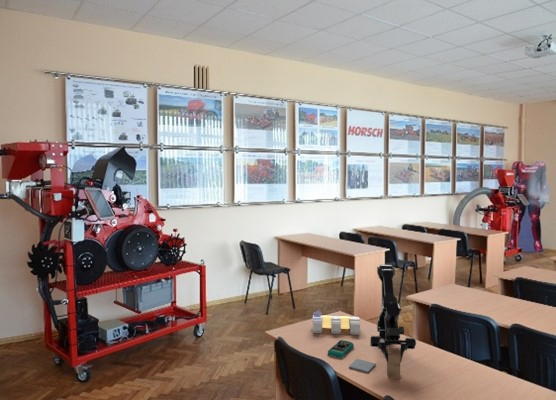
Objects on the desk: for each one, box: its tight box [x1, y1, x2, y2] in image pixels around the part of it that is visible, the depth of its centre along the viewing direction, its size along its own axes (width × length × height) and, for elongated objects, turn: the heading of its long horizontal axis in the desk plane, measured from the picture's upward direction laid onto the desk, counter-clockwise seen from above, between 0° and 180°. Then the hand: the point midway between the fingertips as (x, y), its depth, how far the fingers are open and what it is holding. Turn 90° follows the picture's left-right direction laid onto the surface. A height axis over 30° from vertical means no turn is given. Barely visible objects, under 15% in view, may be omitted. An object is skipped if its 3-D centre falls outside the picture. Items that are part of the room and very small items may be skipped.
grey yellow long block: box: [312, 309, 361, 336], centre depth 229 cm, size 25×10×13 cm, turn 83°
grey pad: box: [348, 358, 376, 374], centre depth 188 cm, size 9×9×1 cm
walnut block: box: [386, 347, 402, 380], centre depth 179 cm, size 5×5×11 cm
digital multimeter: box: [327, 339, 354, 359], centre depth 204 cm, size 8×15×3 cm, turn 149°
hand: (394, 362), depth 177 cm, fingers closed on walnut block, 5 cm apart
